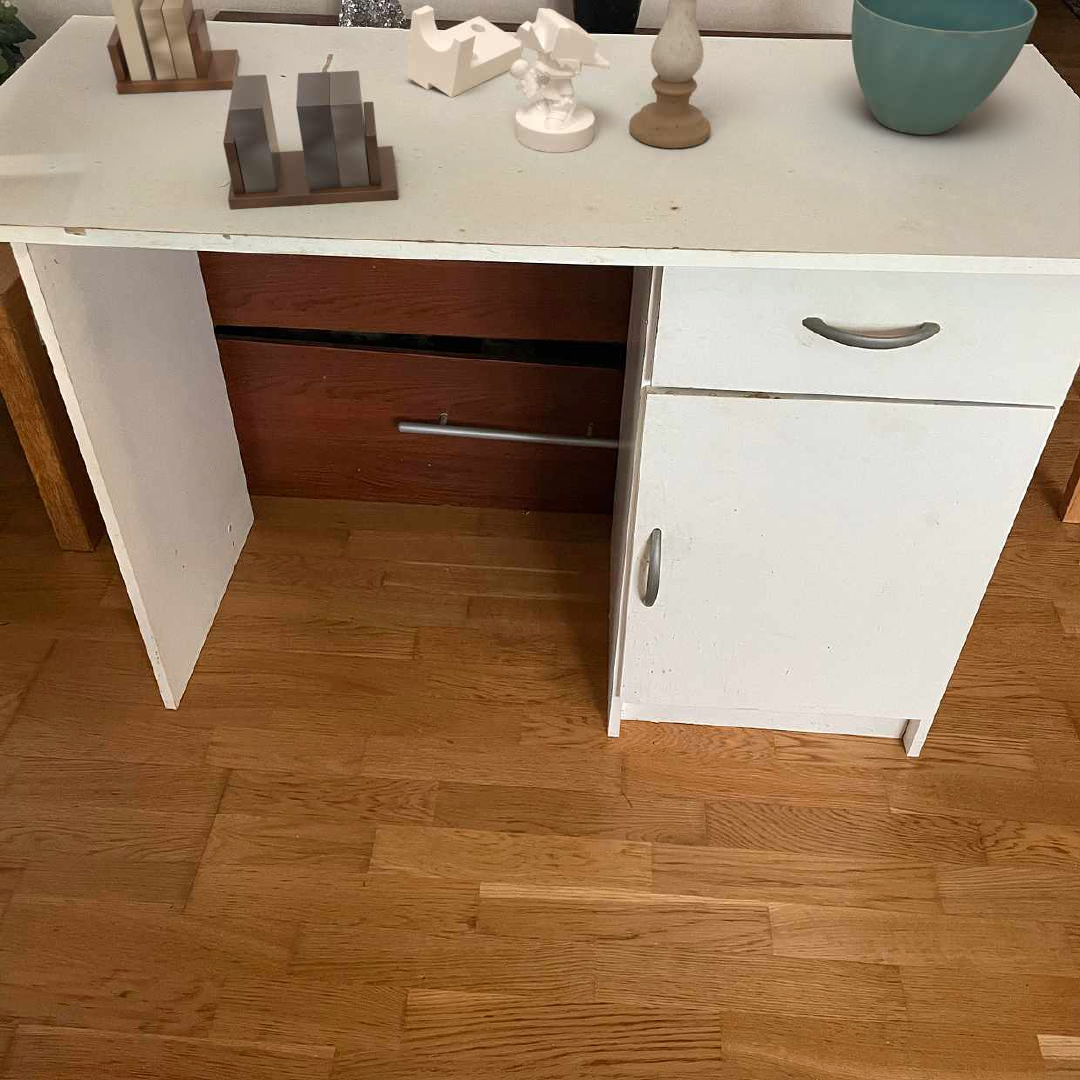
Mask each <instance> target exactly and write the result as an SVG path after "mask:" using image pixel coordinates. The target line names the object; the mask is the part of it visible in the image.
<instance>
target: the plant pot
mask: <svg viewBox="0 0 1080 1080" xmlns="http://www.w3.org/2000/svg"><path fill="white" fill-rule="evenodd" d="M1037 15H1038V10H1037V8H1036V6H1035V4H1033V3H1032V2H1031V1H1030V0H853V5H852V14H851V51H852V57H853V65H854V68H855V69H854V70H855V74H856V77H857V81H858V84H859V86H860V89H861V92H862V94H863V96H864V99H865V101H866V103H867V105H868V107H869V109H870V111H871V113H872V115H873V116H874V117H875V119H876V120H877V121H878V122H879V123H880V124H881V125H883V126H884V127H886V128H888V129H890V130H893V131H895V132H900V133H905V134H910V135H920V136H921V135H922V136H923V135H924V136H925V135H937V134H941V133H945V132H947V131H949V130H951V129H952V128H954V127H955V126H957V125H958V124H959V123H960V122H962V121H963V120H964V119H966V118H967V117H968V116H969V115H970V114H972V113H973V112H974V111H975V110H976V109H977V108H978V107H979V106H981V105H982V104H983V103H984V102H985V101H986V100H987V99H988V98H989V96H990V95H991V94H992V93H993V92H995V90H996V88H998V87H999V85H1000V83H1001V82H1002V81H1003V80H1004V78H1005V77H1006V76H1007V74H1008V72H1009V71H1010V70H1011V68H1012V67H1013V65H1014V64H1015V62H1016V60H1017V59H1018V57H1019V56H1020V53H1021V52H1022V49H1023V48H1024V46H1025V44H1026V42H1027V40H1028V38H1029V36H1030V33H1031V31H1032V29H1033V26H1034V24H1035V21H1036V18H1037Z"/></svg>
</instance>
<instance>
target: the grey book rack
mask: <svg viewBox="0 0 1080 1080" xmlns="http://www.w3.org/2000/svg"><path fill="white" fill-rule="evenodd" d="M360 79H361V78H360V72H359V70H348V71H347V70H342V71H340V70H339V71H319V72H317V71H315V72H298V73H297V83H296V84H297V85H296V101H295V102H296V103H295V104H296V105H295V107H296V113H297V119H298V126H299V127H298V128H299V132H300V133H299V134H300V139H301V145H302V150H290V151H280V147H279V146H280V145H279V141H278V135H277V129H276V124H275V119H274V112H273V107H272V101H271V96H270V89H269V84H268V83H269V82H268V77H267V74H250V75H249V74H248V75H247V74H246V75H236V76H234V82H233V88H232V89H231V94H230V100H229V106H228V112H227V118H226V123H225V129H224V130H225V131H224V136H223V142H222V144H223V149H224V154H225V158H226V163H227V167H228V172H229V177H230V183H229V189H228V197H227V202H228V206H229V209H230V210H233V209H234V210H235V209H237V210H238V209H253V208H254V209H255V208H269V207H286V206H287V207H289V206H304V205H306V206H307V205H321V204H322V205H323V204H324V205H325V204H338V203H339V204H340V203H341V204H342V203H356V202H357V203H359V202H374V201H390V200H391V201H393V200H399V194H398V182H397V173H396V163H395V156H394V155H395V154H394V146H393V145H385V146H379V143H378V134H377V124H376V114H375V105H374V101H363V96H362V90H361V89H362V88H361V80H360Z"/></svg>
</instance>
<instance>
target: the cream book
mask: <svg viewBox="0 0 1080 1080" xmlns="http://www.w3.org/2000/svg"><path fill="white" fill-rule="evenodd" d="M142 2H143V0H110V4H111V7H112V11H113V15H114V16H113V17H114V19H115V24H116V23H117V27H118V31H119V35H120V38H121V42H122V46H123V50H124V53H125V57H126V61H127V65H128V69H129V72H130V76H131V80H132V81H143V80H151V79H152V76H153V73H154V70H155V68H154V64H153V60H152V56H151V52H150V48H149V44H148V40H147V36H146V32H145V28H144V24H143V20H142V16H141V12H140V8H141V5H142Z"/></svg>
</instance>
